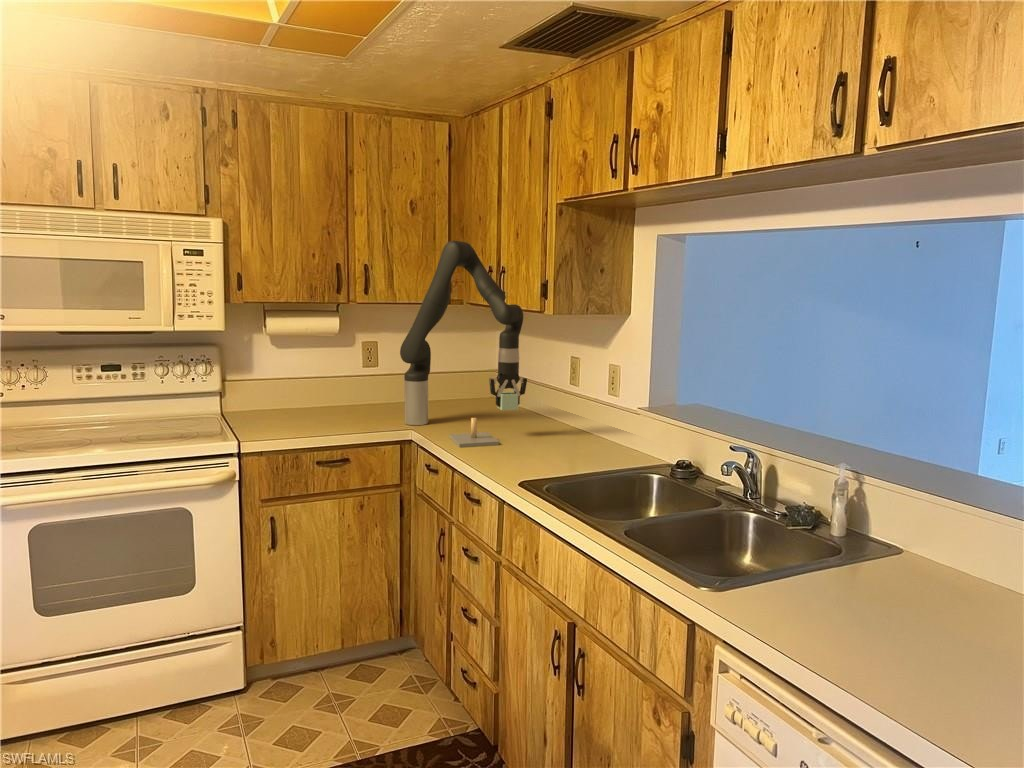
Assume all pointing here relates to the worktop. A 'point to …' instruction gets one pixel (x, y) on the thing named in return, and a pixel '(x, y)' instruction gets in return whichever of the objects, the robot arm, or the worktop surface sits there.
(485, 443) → the board
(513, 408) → the collar
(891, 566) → the worktop surface
